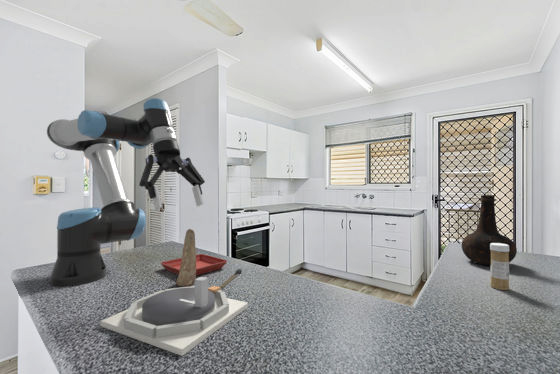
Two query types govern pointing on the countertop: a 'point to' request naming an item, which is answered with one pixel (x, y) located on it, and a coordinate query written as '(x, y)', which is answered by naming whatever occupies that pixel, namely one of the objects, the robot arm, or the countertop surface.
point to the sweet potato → (188, 261)
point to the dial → (179, 304)
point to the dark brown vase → (486, 235)
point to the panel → (180, 339)
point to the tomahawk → (230, 279)
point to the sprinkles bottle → (499, 266)
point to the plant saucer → (202, 264)
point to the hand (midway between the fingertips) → (180, 206)
